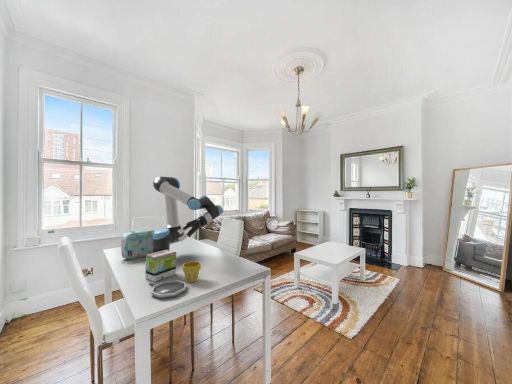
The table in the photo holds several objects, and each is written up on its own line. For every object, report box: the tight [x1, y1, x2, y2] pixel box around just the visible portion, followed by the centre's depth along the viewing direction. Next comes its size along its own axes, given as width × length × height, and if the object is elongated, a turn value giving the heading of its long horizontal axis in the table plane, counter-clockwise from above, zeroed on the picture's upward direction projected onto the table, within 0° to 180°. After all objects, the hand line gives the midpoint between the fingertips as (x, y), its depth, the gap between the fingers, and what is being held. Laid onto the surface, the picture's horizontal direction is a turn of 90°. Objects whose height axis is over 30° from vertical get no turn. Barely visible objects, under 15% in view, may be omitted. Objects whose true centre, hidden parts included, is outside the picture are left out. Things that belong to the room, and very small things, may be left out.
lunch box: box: [120, 229, 155, 260], centre depth 176 cm, size 27×10×21 cm, turn 148°
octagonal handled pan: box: [148, 279, 187, 300], centre depth 118 cm, size 25×17×2 cm
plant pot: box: [182, 261, 201, 283], centre depth 130 cm, size 10×10×10 cm
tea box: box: [144, 249, 177, 283], centre depth 136 cm, size 15×10×15 cm
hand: (179, 236), depth 147 cm, fingers open, 13 cm apart
